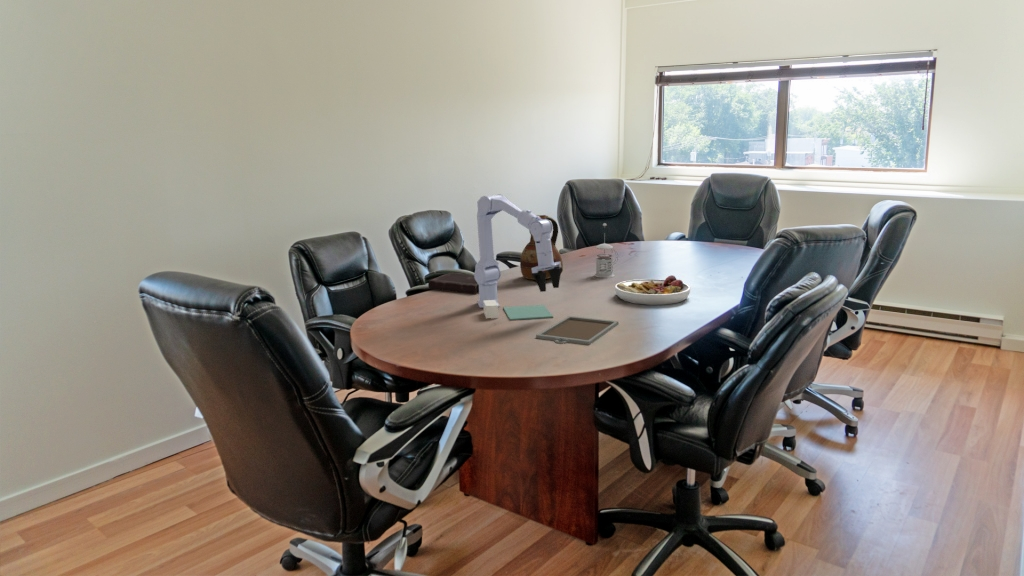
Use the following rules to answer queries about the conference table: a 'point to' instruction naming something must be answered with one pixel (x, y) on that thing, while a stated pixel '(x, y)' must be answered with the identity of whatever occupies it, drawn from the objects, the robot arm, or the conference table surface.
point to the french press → (604, 261)
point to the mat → (527, 312)
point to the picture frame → (577, 330)
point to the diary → (455, 283)
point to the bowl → (653, 291)
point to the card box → (490, 309)
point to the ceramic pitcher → (530, 253)
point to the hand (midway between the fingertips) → (549, 289)
